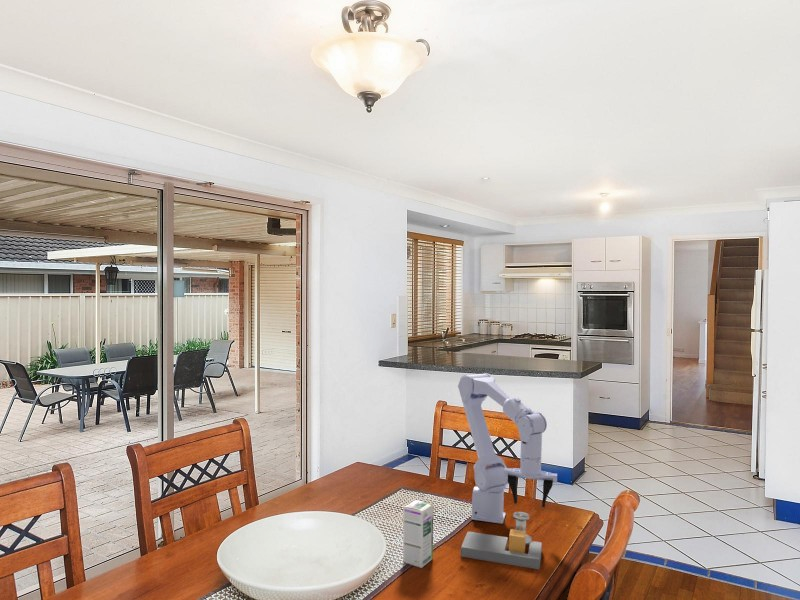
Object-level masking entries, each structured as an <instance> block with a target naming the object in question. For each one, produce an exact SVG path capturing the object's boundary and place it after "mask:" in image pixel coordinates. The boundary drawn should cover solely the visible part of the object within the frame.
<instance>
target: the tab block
mask: <svg viewBox="0 0 800 600" xmlns="http://www.w3.org/2000/svg"><path fill="white" fill-rule="evenodd" d="M509 530H510V531H509V537H508V551H512V552H518V553H524V554H526V546H527V545H526V534H527V530H526V531H521V530H516V529H515V528H514V529H511V528H510V529H509Z"/></svg>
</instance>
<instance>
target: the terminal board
mask: <svg viewBox="0 0 800 600" xmlns="http://www.w3.org/2000/svg"><path fill="white" fill-rule="evenodd" d="M508 548H509V537H507V536H501V535H495V534H486V533H480V532H475V531H467V533H466V535H465V537H464V538H463V542H462V544H461V547H460V557H461V558H470V559H473V560H480V561H484V562H485V561H487V562H492V563H497V564H505V565H510V566H515V567H523V568H527V569H536V570H540V568H541V559H542V549H543V542H540V541H534V540H532V541H530V544H529V547H528V552H527V553H525V554H524V553H518V552H512V551H509V550H508Z"/></svg>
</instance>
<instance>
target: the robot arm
mask: <svg viewBox="0 0 800 600" xmlns="http://www.w3.org/2000/svg"><path fill="white" fill-rule="evenodd" d="M457 388H458V391H459V396H460V398H461V402H462V405H463V406H462V407H463V408H464V412H465V417H466V420H467V423H468V426H469V430H470V433H471V437H472V441H473V444H474V448H475V451H476V455H477V460H476V462H475V464H474V465H473V466H472V467H473V471H474V482H475V486H474V487H473V490H472V494H471V495H472V496H471V499H472V500H471V520H473V521H481V522H488V523H495V524H501V525H502V524H504V520H505V518H506V512H504V495H505V493H504V492H505V489H506V488H507V487H506V486H507V485H509V487H510V490H511V493H512V497H513V504H518V479H519V478H520V479H529V480H537V481H543V484H542V486H543V487H542V501H541V503H542V504H541V506H542V507H541V508H545V506H546V502H547V501H546V500H547V498H548V495H549V494H550V491H551V489H552V488H553V483H554V484H557V483H558V473H552V472H550V471H549V472H548V471H545V470H542V449H543V448H542V446H543V445H542V443H543V433H544V432H545V431H546V430H547V425H548V424H547V421H546V417H545V416H544V415H543V414H542V412H538V411H537V412H534V411H532V409H531V408H530V407H527V405H525V404H524V403H523V402H522V400H521V399H520V398H519V397H518V398H516V397H510V396H509V395H508V394H507V393H506V392H505V391H504V390H503V389H502V388H501V387H500V386H499V385H498V383H496V379H495V378H494V377H493V376H492V375H491V374H490V373H487V372H484V373H479V374H463V375H462V376H461V377H460V380H459V382H458V385H457ZM488 397H489V398H491V399H492V400H493V401H494V402H496V403H497V404H498V405H500V406H501V407H502V411H503V414H504V415H506V416H507V418H509V419H510V420H511V421H512V422H513V423H514V424H515V425H516V428H517V430H518V433H519V439H520V440H519V441H520V463H519V464H520V465H519V466H520V468H519V467H518V468H517V467H515V468H514V467H512V468H510V467H507V466H506V464H505V463H504V459H503V458H502V457H500V456H498V455H497V454H496V453H495V448H494V446H493V442H492V438H491V435H490V432H489V431H490V430H489V428H488V426H487V422H486V418H485V415H484V411H483V408H482V404H483V402H484V401H486V399H487V398H488Z"/></svg>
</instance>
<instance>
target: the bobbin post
mask: <svg viewBox="0 0 800 600" xmlns="http://www.w3.org/2000/svg"><path fill="white" fill-rule="evenodd" d="M512 518H513V519H515V530H521V531H526V532H527V521H529V520H530V514H529V513H527V512H525V511H515V512H513V513H512ZM530 541H533V539H532V536H530V534H527V533H526V546H528V545H529V546H530Z"/></svg>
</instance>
